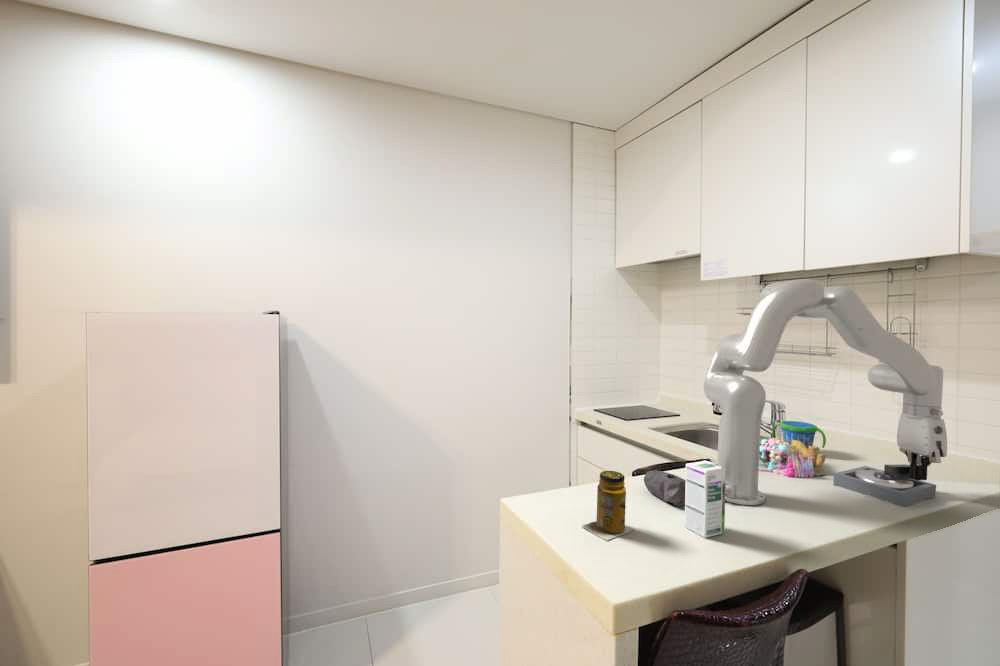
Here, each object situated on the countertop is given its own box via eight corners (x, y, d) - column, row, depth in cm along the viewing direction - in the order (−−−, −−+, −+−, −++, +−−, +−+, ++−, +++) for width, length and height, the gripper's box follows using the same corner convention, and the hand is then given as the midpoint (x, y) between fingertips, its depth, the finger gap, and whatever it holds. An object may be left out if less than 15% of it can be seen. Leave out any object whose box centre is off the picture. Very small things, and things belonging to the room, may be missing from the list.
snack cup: (766, 450, 158) (767, 421, 157) (778, 445, 164) (779, 417, 164) (818, 462, 146) (819, 431, 145) (829, 456, 152) (830, 426, 152)
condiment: (633, 530, 97) (635, 476, 96) (606, 541, 92) (608, 484, 91) (607, 517, 103) (608, 466, 102) (581, 527, 98) (582, 473, 97)
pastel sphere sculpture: (794, 455, 153) (796, 429, 152) (841, 481, 129) (843, 449, 129) (719, 452, 155) (720, 426, 154) (752, 477, 131) (753, 446, 131)
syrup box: (705, 539, 93) (707, 470, 93) (683, 526, 99) (685, 462, 98) (724, 534, 96) (727, 467, 95) (702, 522, 101) (704, 459, 100)
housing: (904, 506, 111) (905, 493, 111) (833, 484, 126) (834, 472, 126) (935, 496, 118) (936, 484, 118) (864, 476, 132) (865, 465, 132)
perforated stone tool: (637, 489, 120) (637, 464, 119) (652, 487, 122) (653, 462, 121) (678, 512, 106) (679, 484, 106) (695, 509, 108) (696, 481, 108)
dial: (883, 492, 115) (884, 473, 115) (844, 475, 127) (844, 458, 127) (935, 491, 116) (936, 473, 116) (891, 475, 128) (892, 458, 128)
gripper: (964, 417, 111) (960, 490, 112) (910, 405, 126) (906, 469, 127) (934, 417, 111) (930, 489, 112) (883, 405, 126) (880, 469, 127)
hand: (918, 478), depth 119 cm, fingers closed
